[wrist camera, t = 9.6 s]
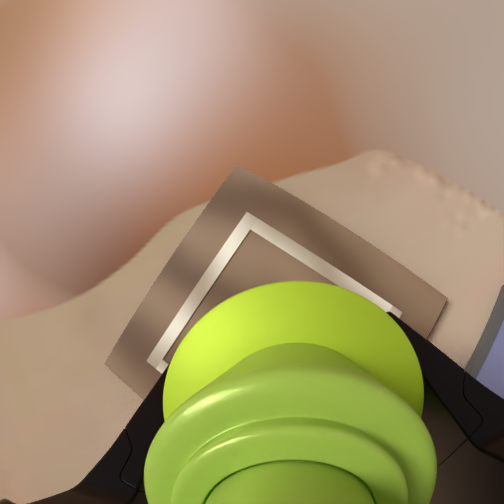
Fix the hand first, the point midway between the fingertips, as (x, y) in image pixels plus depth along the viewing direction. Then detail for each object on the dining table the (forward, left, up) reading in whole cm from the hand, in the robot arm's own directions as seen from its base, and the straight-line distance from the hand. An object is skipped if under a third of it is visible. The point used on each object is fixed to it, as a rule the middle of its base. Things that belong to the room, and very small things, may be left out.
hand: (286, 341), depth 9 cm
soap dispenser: (-1, -2, -10) cm, 10 cm away
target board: (-2, 0, -13) cm, 13 cm away
